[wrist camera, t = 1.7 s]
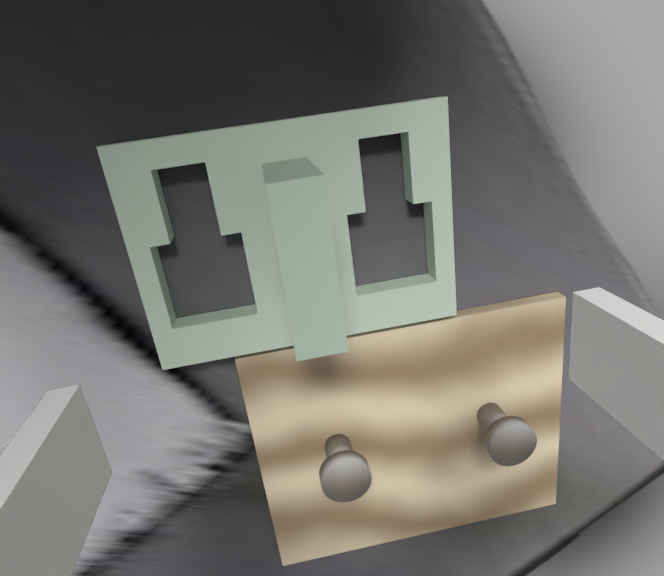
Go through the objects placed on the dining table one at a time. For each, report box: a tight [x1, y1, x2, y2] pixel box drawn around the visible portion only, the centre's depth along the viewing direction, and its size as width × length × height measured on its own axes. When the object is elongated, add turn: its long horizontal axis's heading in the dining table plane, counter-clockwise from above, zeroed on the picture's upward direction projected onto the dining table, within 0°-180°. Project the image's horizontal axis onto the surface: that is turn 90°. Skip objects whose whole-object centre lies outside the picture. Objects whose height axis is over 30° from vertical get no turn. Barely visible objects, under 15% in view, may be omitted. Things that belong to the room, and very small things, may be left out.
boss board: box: [235, 292, 566, 566], centre depth 33 cm, size 18×22×5 cm
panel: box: [96, 96, 457, 370], centre depth 25 cm, size 13×18×9 cm
